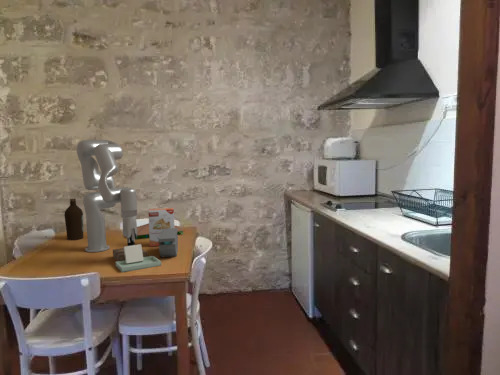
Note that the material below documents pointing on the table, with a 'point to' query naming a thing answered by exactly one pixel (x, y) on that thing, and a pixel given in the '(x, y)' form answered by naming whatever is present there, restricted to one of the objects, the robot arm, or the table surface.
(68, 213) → the olive oil
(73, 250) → the table surface
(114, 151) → the robot arm
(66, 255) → the table surface
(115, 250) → the riser
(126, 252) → the coaster
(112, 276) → the table surface
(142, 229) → the house
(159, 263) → the tray
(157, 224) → the cracker box
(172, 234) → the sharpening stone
